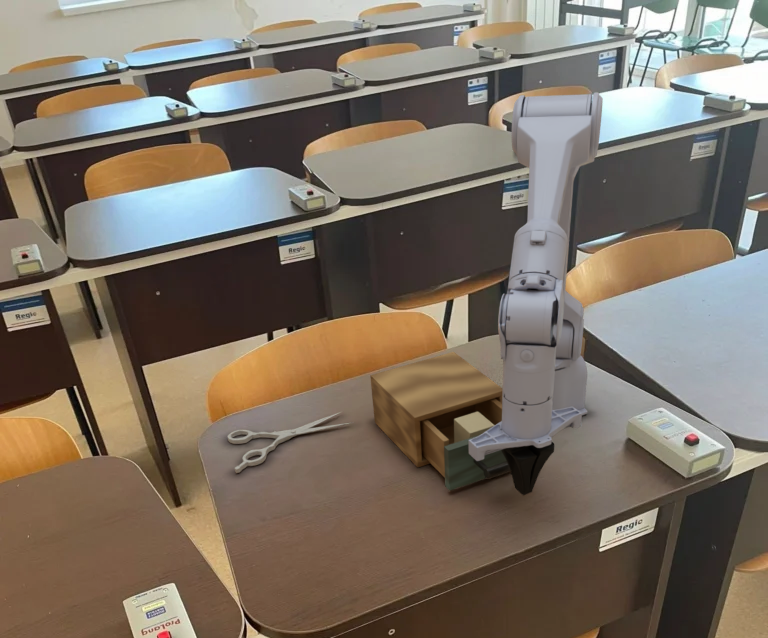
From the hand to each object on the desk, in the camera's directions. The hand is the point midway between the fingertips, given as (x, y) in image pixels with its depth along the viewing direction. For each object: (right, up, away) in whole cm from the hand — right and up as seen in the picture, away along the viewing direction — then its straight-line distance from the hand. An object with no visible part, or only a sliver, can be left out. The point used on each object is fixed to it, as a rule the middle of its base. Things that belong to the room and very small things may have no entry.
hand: (523, 489), depth 94 cm
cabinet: (-9, +9, +19) cm, 23 cm away
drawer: (-5, +4, +10) cm, 12 cm away
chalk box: (-5, +5, +10) cm, 12 cm away
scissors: (-32, +8, +21) cm, 39 cm away
